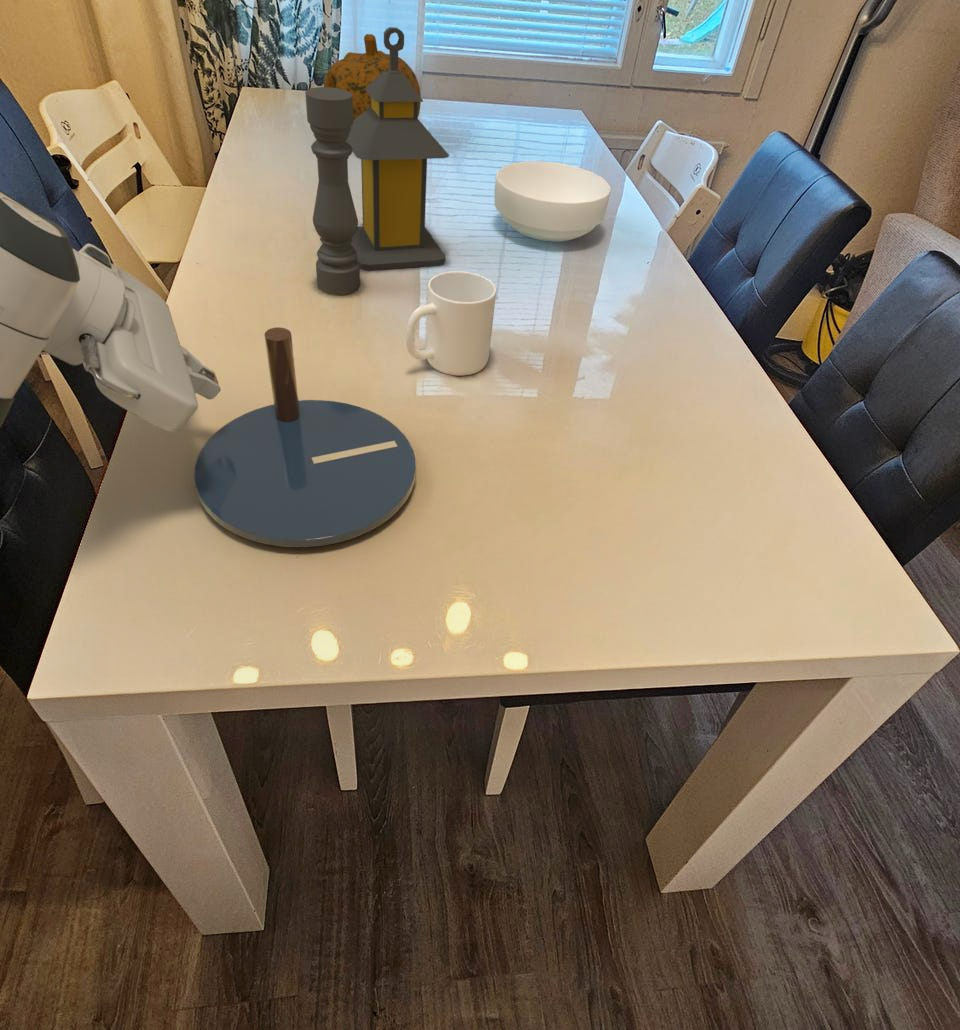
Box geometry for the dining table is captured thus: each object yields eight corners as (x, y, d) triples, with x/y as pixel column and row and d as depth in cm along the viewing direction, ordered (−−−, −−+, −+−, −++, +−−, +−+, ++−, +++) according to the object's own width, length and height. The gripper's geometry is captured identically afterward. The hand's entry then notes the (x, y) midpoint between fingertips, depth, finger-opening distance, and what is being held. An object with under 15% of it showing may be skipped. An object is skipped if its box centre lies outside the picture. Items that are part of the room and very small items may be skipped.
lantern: (447, 264, 112) (460, 42, 91) (360, 271, 108) (353, 39, 87) (422, 228, 121) (429, 18, 100) (340, 233, 117) (330, 15, 96)
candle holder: (318, 274, 105) (304, 85, 88) (360, 276, 106) (354, 88, 89) (316, 294, 101) (301, 98, 84) (359, 295, 102) (354, 102, 85)
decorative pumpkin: (432, 129, 158) (430, 23, 143) (408, 167, 145) (403, 55, 130) (346, 119, 161) (336, 14, 146) (314, 156, 147) (299, 44, 132)
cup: (500, 366, 92) (510, 293, 85) (423, 392, 86) (426, 316, 79) (464, 337, 96) (469, 266, 89) (388, 359, 91) (388, 285, 84)
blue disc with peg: (217, 573, 62) (193, 479, 54) (180, 427, 76) (157, 336, 68) (448, 515, 70) (455, 426, 62) (376, 393, 84) (375, 307, 76)
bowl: (583, 264, 116) (593, 213, 111) (474, 236, 120) (478, 185, 115) (612, 224, 130) (622, 176, 124) (512, 200, 134) (518, 153, 128)
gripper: (109, 345, 54) (256, 424, 64) (90, 235, 66) (215, 316, 77) (63, 404, 55) (214, 472, 65) (52, 285, 68) (180, 357, 78)
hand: (214, 387), depth 71 cm, fingers closed
